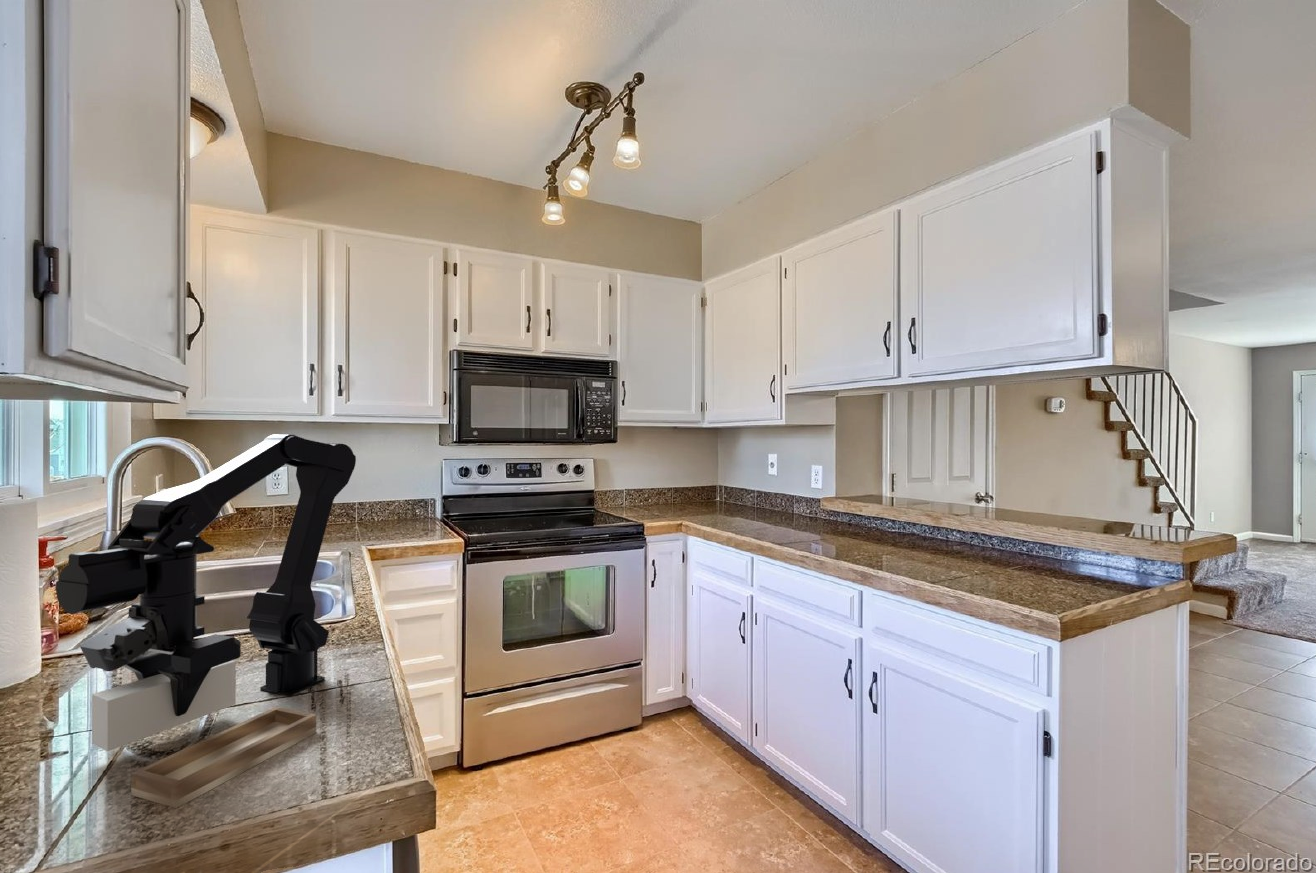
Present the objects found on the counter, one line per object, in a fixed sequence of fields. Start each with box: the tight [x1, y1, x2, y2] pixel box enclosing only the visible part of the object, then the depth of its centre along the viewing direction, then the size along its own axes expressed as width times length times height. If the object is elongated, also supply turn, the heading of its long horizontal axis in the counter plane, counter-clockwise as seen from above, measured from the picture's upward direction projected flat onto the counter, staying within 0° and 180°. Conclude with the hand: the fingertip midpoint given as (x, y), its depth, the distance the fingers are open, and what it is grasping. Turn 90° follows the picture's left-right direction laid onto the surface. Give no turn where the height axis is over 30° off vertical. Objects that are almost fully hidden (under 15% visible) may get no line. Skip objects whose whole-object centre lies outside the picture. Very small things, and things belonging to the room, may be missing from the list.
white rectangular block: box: [91, 660, 237, 752], centre depth 78 cm, size 14×4×6 cm, turn 153°
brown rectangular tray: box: [130, 706, 317, 809], centre depth 73 cm, size 17×7×2 cm, turn 161°
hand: (168, 712), depth 78 cm, fingers closed on white rectangular block, 4 cm apart
